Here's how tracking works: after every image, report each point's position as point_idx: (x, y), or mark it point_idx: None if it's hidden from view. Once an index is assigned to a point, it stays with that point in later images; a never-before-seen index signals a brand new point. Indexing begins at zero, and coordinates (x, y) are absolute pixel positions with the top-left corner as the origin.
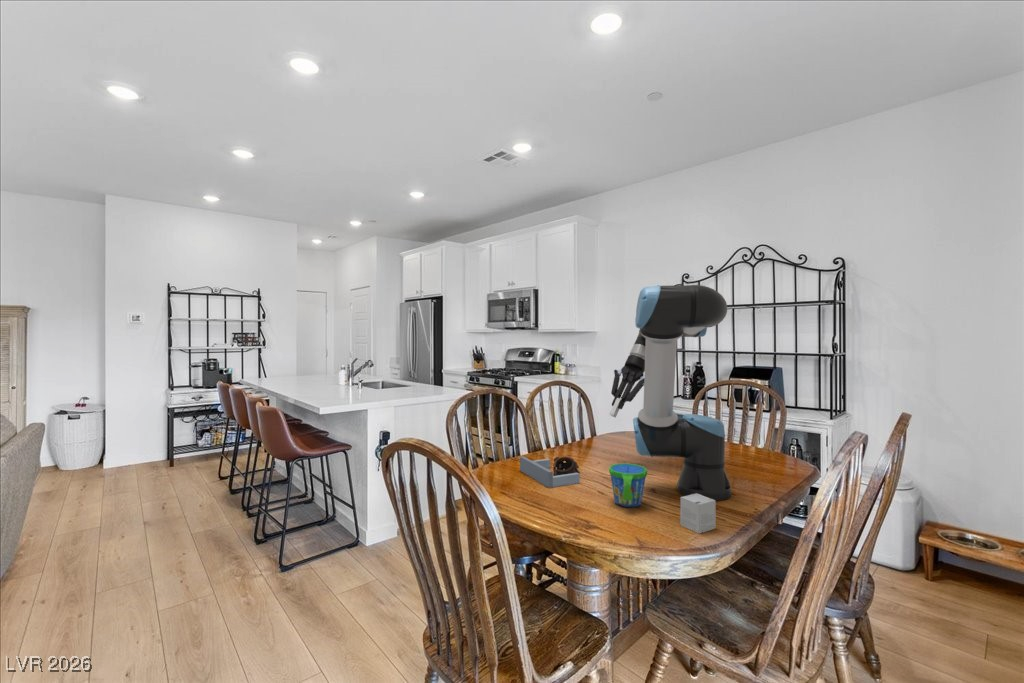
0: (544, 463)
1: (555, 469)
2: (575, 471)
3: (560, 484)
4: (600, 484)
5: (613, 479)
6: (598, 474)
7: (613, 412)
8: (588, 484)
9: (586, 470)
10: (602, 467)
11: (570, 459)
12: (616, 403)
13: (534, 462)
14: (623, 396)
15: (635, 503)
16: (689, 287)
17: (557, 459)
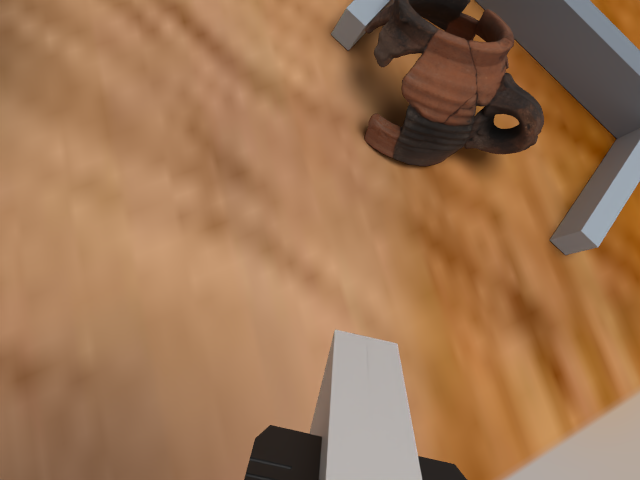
0: (586, 207)
1: (476, 21)
2: (375, 20)
3: None
4: (226, 41)
5: None
6: (283, 216)
7: (348, 347)
8: (283, 25)
9: (368, 270)
10: (300, 378)
11: (440, 33)
12: (372, 444)
13: (595, 26)
14: None
15: None
16: None
17: (507, 36)
